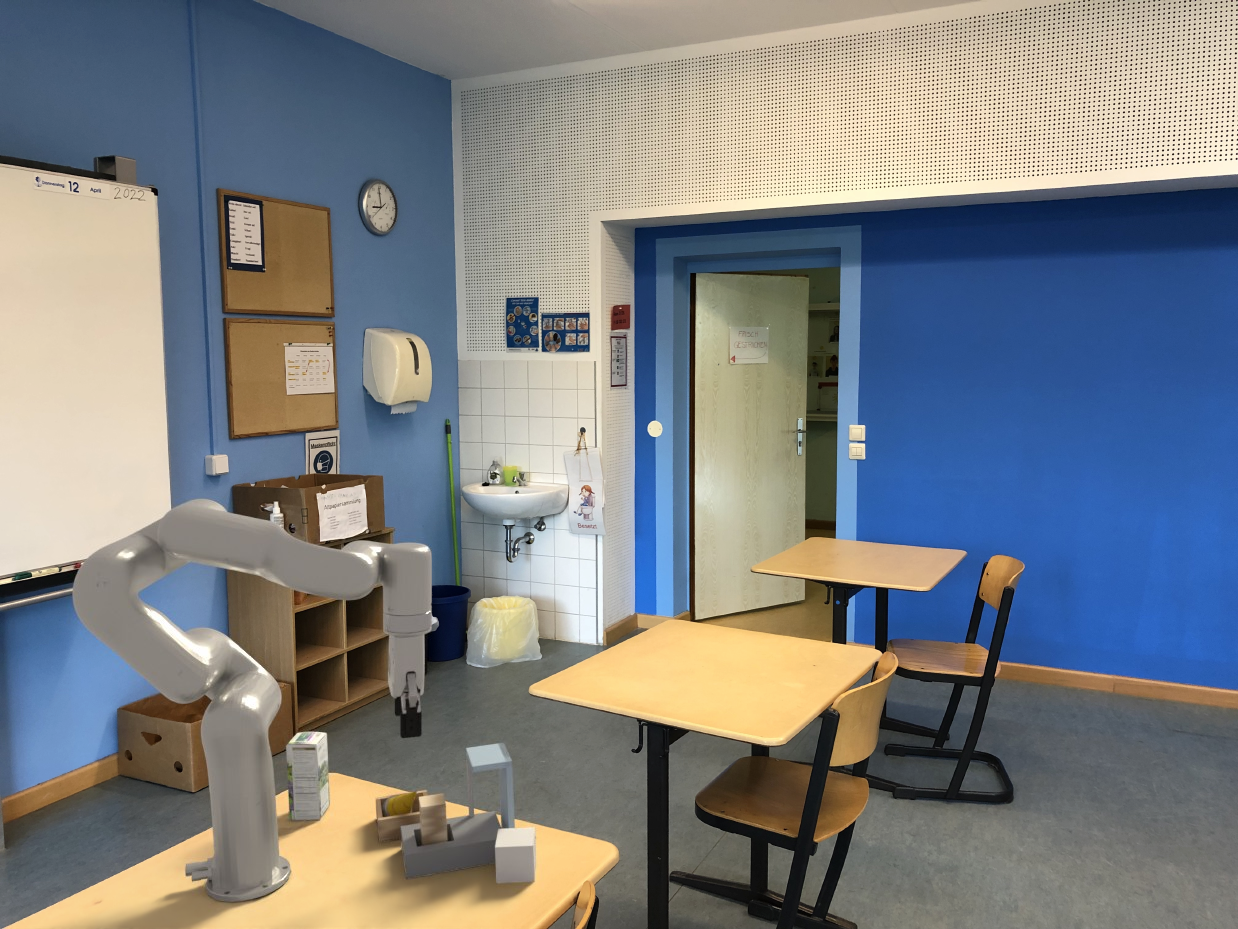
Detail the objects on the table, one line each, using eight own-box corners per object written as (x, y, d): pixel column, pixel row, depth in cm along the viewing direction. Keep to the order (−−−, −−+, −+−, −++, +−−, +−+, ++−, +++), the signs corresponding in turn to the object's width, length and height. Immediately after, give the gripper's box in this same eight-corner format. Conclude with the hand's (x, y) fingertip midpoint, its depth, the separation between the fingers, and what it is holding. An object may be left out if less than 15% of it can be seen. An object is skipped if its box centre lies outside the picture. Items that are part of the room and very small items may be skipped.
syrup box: (300, 806, 176) (295, 731, 174) (331, 806, 176) (327, 731, 174) (289, 821, 170) (284, 744, 169) (321, 820, 170) (317, 743, 169)
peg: (423, 866, 154) (420, 807, 153) (421, 854, 157) (418, 796, 156) (448, 862, 155) (445, 803, 154) (445, 850, 159) (443, 793, 158)
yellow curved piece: (404, 813, 172) (433, 786, 167) (396, 838, 167) (425, 811, 163) (379, 800, 170) (407, 772, 166) (370, 825, 166) (399, 796, 161)
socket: (406, 879, 150) (405, 855, 149) (401, 848, 159) (400, 826, 159) (506, 861, 154) (505, 838, 154) (495, 832, 164) (494, 810, 164)
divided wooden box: (379, 842, 162) (377, 820, 161) (376, 818, 170) (375, 797, 170) (432, 833, 164) (431, 811, 164) (427, 810, 173) (426, 789, 172)
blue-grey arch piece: (476, 860, 155) (472, 766, 153) (469, 837, 163) (465, 748, 161) (515, 853, 157) (512, 760, 155) (507, 830, 165) (503, 742, 163)
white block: (499, 864, 154) (498, 828, 153) (536, 862, 154) (535, 827, 154) (496, 883, 148) (494, 847, 147) (534, 882, 148) (533, 845, 148)
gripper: (379, 609, 157) (379, 709, 158) (387, 637, 140) (388, 748, 142) (425, 606, 159) (425, 705, 161) (438, 634, 143) (438, 743, 144)
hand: (407, 725), depth 151 cm, fingers open, 9 cm apart
